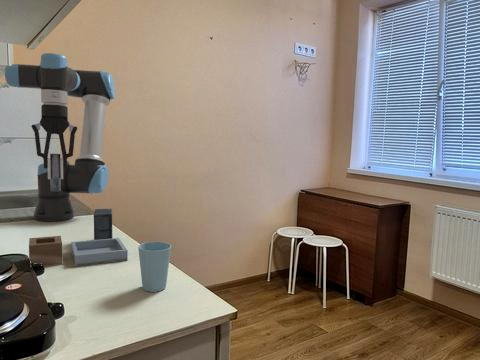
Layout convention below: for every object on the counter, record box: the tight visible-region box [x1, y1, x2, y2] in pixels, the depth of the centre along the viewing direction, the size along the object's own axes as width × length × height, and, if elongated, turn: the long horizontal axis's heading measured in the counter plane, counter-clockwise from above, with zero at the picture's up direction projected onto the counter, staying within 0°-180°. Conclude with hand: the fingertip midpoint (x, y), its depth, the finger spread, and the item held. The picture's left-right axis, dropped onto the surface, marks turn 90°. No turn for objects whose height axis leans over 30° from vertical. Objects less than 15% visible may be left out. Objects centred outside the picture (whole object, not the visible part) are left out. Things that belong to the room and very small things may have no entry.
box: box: [93, 208, 113, 240], centre depth 128 cm, size 8×6×11 cm
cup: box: [137, 241, 172, 293], centre depth 93 cm, size 8×8×10 cm
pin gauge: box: [49, 153, 61, 192], centre depth 124 cm, size 3×3×12 cm
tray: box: [70, 237, 129, 267], centre depth 114 cm, size 14×14×3 cm
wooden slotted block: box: [28, 235, 63, 267], centre depth 108 cm, size 8×8×6 cm
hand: (55, 178), depth 124 cm, fingers closed on pin gauge, 3 cm apart
